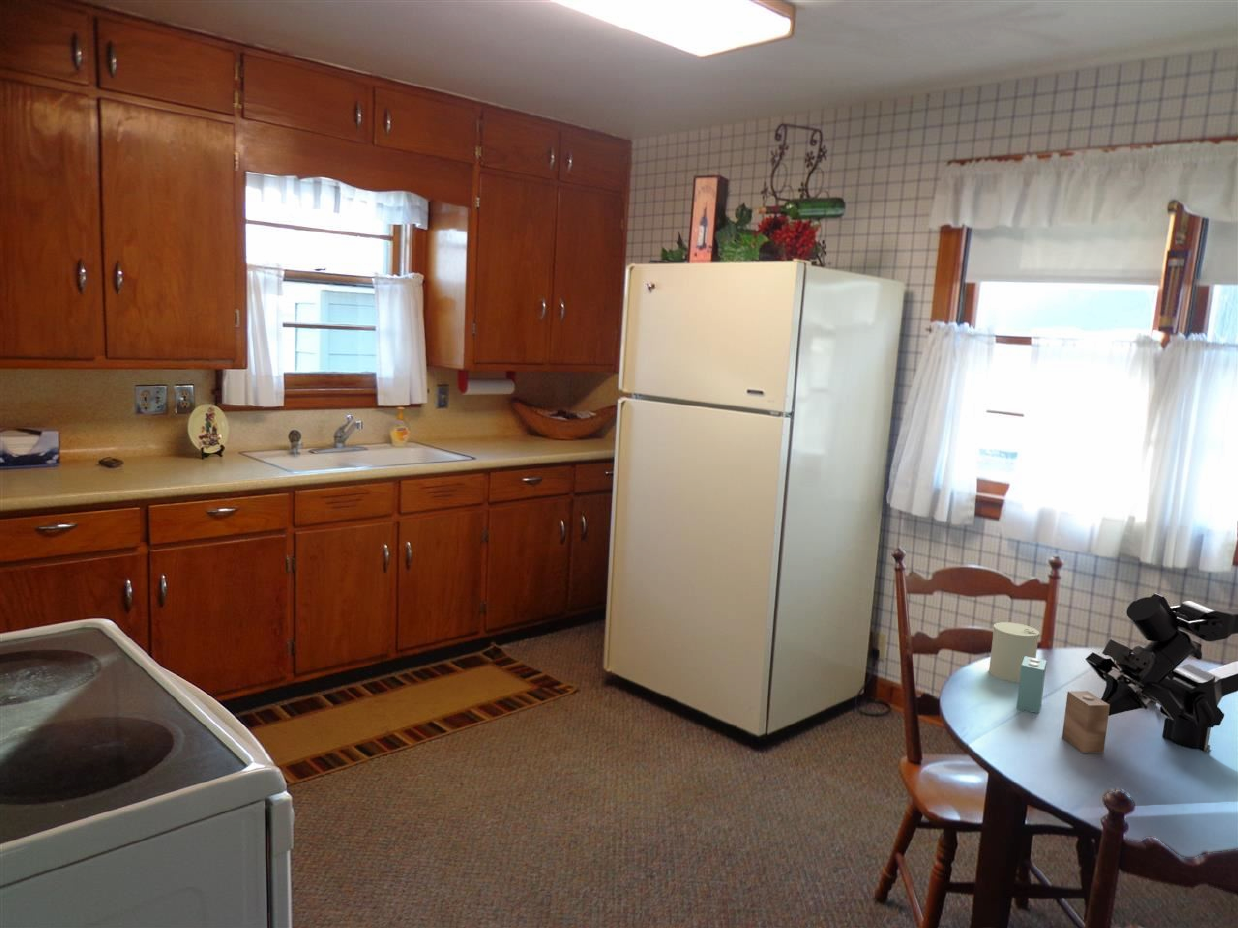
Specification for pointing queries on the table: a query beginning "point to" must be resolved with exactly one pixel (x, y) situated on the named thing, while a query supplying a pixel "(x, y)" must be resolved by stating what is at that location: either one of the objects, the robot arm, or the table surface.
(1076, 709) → the brown box
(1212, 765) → the table surface
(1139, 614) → the robot arm
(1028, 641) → the can
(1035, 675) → the teal block
